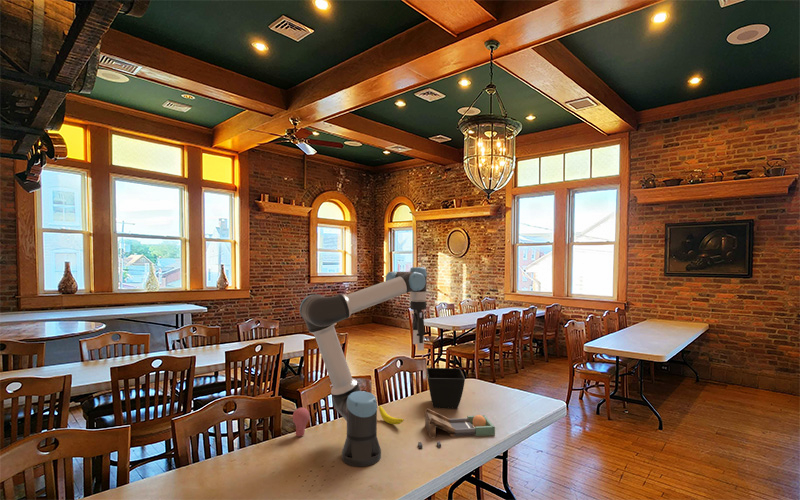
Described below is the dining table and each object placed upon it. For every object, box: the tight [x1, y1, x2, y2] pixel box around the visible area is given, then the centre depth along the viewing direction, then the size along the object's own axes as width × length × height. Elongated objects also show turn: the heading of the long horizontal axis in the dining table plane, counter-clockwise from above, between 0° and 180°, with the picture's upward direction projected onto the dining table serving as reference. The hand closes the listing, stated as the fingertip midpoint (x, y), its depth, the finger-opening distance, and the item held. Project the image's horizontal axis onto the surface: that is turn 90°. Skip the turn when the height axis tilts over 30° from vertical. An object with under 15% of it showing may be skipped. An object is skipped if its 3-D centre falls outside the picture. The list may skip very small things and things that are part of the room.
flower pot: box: [426, 367, 466, 409], centre depth 207 cm, size 19×19×17 cm
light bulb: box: [292, 407, 310, 437], centre depth 168 cm, size 7×7×12 cm
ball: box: [473, 414, 486, 427], centre depth 176 cm, size 6×6×6 cm
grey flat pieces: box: [417, 440, 442, 449], centre depth 159 cm, size 9×3×1 cm, turn 96°
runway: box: [449, 417, 476, 437], centre depth 175 cm, size 10×12×3 cm
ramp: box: [424, 407, 456, 438], centre depth 174 cm, size 12×12×8 cm
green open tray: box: [466, 414, 496, 437], centre depth 176 cm, size 9×13×4 cm, turn 6°
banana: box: [378, 404, 405, 425], centre depth 182 cm, size 3×19×6 cm, turn 39°
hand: (418, 347), depth 178 cm, fingers open, 13 cm apart
